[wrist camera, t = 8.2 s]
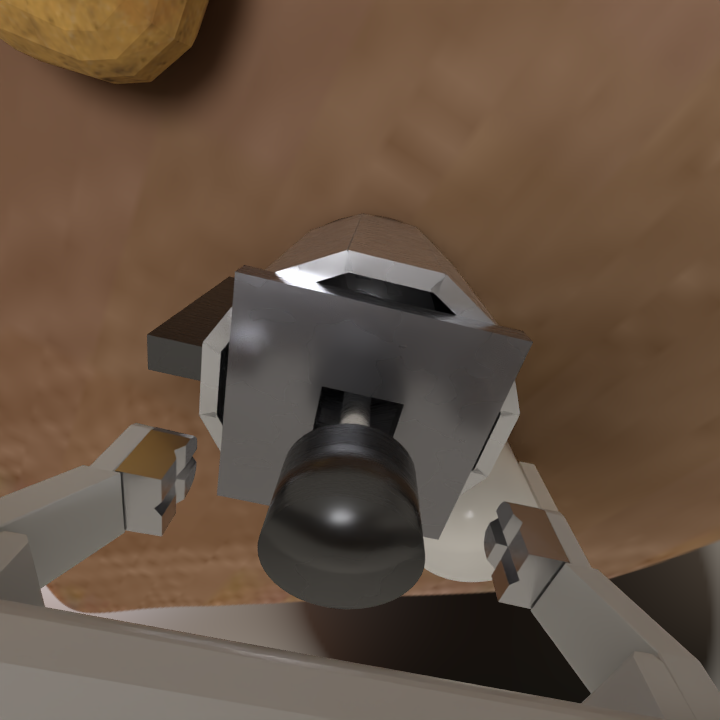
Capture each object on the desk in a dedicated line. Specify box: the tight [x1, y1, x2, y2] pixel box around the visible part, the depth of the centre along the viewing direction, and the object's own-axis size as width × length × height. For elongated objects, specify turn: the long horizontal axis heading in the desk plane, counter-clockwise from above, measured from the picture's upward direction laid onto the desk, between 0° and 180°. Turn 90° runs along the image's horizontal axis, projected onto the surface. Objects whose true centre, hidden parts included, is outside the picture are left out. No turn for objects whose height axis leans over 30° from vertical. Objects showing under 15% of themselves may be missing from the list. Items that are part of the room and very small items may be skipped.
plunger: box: [258, 272, 435, 609], centre depth 15 cm, size 8×8×15 cm
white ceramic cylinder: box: [423, 441, 559, 582], centre depth 23 cm, size 8×7×8 cm
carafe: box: [147, 214, 533, 540], centre depth 18 cm, size 13×11×12 cm
